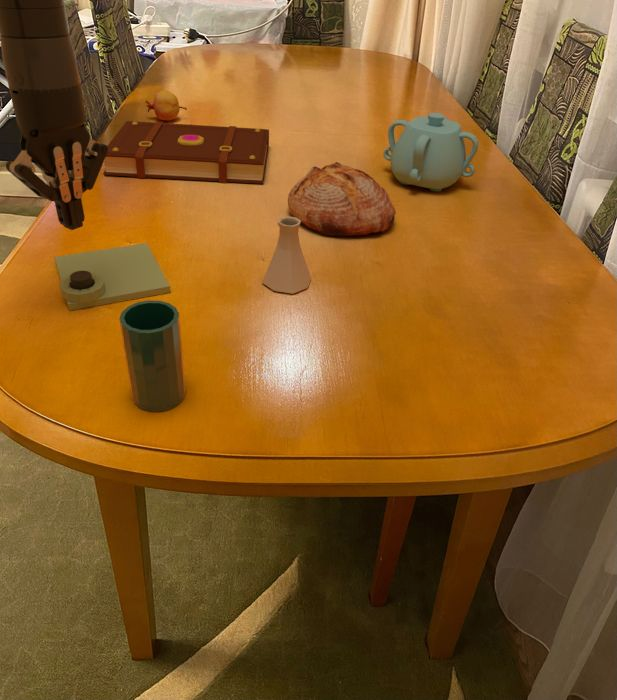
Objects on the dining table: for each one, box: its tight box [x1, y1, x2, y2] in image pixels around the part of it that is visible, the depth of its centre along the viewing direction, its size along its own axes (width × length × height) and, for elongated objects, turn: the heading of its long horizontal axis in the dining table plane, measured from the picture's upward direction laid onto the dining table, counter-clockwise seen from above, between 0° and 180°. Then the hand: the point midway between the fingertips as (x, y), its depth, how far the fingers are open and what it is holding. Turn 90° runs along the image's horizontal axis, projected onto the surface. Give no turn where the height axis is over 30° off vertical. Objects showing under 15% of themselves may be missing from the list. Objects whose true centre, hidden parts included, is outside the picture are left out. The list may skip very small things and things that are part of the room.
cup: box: [119, 299, 186, 413], centre depth 67 cm, size 6×6×11 cm
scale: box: [54, 242, 172, 312], centre depth 89 cm, size 14×14×2 cm
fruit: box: [144, 89, 188, 122], centre depth 148 cm, size 7×7×10 cm
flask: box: [261, 215, 312, 295], centre depth 89 cm, size 7×7×10 cm
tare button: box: [70, 271, 93, 290], centre depth 83 cm, size 3×3×2 cm
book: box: [103, 120, 270, 185], centre depth 127 cm, size 23×32×5 cm
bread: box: [287, 161, 396, 237], centre depth 108 cm, size 16×20×10 cm
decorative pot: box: [383, 112, 479, 192], centre depth 124 cm, size 16×16×14 cm
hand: (73, 226), depth 77 cm, fingers closed
